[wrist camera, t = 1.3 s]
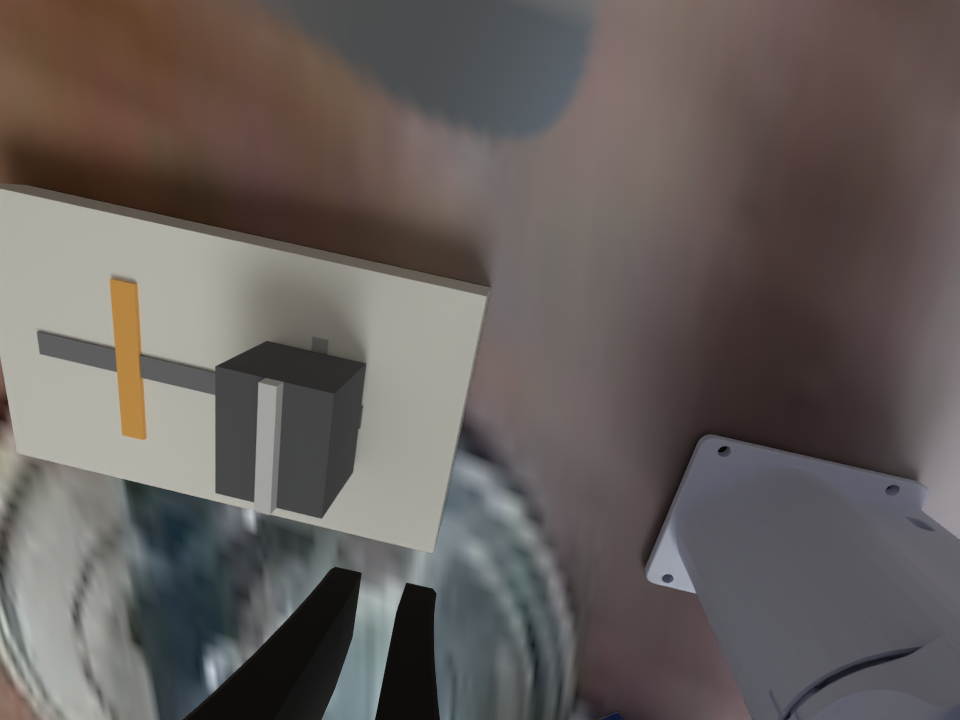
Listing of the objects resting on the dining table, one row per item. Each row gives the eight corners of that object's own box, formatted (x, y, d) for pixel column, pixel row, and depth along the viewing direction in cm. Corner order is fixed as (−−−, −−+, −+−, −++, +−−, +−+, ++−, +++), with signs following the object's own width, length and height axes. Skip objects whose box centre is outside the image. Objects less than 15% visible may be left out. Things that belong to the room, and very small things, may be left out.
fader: (366, 363, 17) (329, 399, 14) (353, 472, 19) (316, 526, 15) (266, 340, 17) (206, 370, 14) (262, 450, 19) (207, 499, 16)
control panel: (491, 287, 18) (486, 297, 16) (441, 524, 22) (432, 556, 20) (26, 185, 19) (-36, 181, 16) (60, 432, 22) (13, 454, 20)
